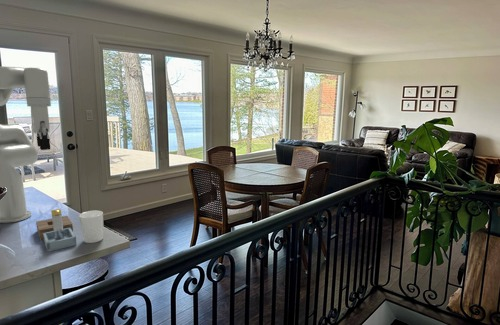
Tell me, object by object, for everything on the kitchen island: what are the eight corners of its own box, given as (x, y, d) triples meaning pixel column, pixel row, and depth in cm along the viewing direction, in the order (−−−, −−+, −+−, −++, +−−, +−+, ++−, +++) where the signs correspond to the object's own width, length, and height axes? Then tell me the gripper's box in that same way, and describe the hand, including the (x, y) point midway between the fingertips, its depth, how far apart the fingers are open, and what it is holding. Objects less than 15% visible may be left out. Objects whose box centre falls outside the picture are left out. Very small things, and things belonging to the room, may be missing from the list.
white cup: (106, 241, 124) (104, 215, 122) (82, 245, 120) (79, 219, 118) (103, 233, 131) (101, 209, 129) (81, 237, 127) (78, 212, 125)
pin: (54, 240, 122) (50, 210, 120) (63, 238, 124) (60, 208, 122) (55, 243, 120) (51, 212, 118) (65, 240, 122) (61, 210, 120)
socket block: (37, 230, 133) (36, 221, 132) (68, 224, 139) (67, 215, 138) (40, 240, 124) (39, 230, 123) (73, 233, 131) (72, 223, 130)
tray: (43, 240, 124) (42, 233, 123) (71, 234, 129) (70, 227, 129) (47, 251, 115) (46, 243, 115) (76, 244, 121) (75, 237, 120)
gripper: (25, 101, 129) (30, 145, 133) (28, 103, 116) (34, 152, 119) (47, 101, 134) (52, 144, 137) (53, 103, 120) (58, 150, 123)
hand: (43, 147), depth 128 cm, fingers open, 9 cm apart
